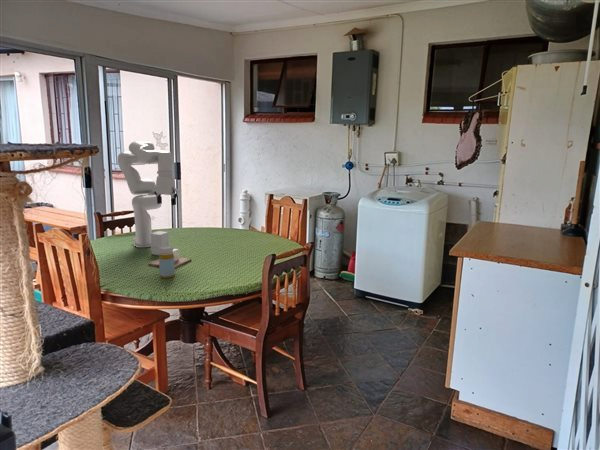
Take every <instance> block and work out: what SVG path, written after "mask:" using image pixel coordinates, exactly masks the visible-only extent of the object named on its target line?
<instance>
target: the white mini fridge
mask: <svg viewBox="0 0 600 450" xmlns="http://www.w3.org/2000/svg"><path fill="white" fill-rule="evenodd" d="M179 250H180V249H178V248H174V247H173V255H174V262H175V261H177V260H179V257H180V255H179Z"/></svg>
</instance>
